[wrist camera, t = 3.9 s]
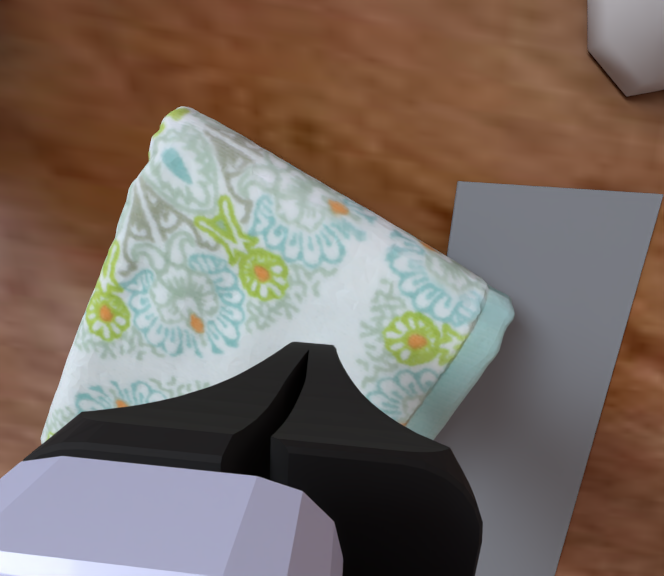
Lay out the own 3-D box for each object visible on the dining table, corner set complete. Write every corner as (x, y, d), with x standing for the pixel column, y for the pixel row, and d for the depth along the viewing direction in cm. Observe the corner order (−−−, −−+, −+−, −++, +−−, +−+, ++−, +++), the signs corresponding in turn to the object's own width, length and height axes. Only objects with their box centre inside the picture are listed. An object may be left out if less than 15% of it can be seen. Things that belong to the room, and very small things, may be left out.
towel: (70, 418, 25) (-1, 475, 20) (199, 108, 19) (143, 82, 14) (313, 542, 26) (301, 625, 21) (500, 283, 21) (543, 314, 16)
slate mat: (549, 586, 26) (550, 589, 26) (401, 569, 26) (401, 572, 26) (660, 194, 19) (663, 194, 19) (457, 181, 20) (458, 181, 19)
